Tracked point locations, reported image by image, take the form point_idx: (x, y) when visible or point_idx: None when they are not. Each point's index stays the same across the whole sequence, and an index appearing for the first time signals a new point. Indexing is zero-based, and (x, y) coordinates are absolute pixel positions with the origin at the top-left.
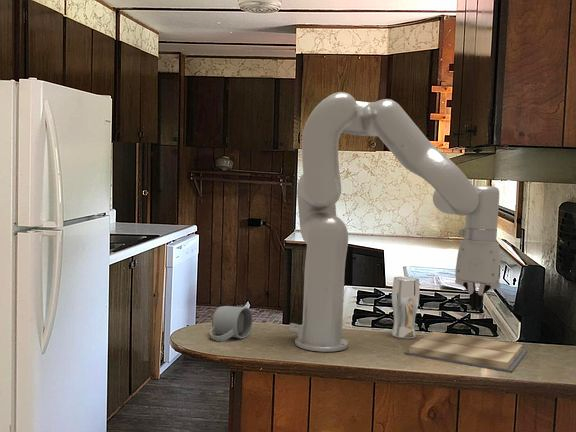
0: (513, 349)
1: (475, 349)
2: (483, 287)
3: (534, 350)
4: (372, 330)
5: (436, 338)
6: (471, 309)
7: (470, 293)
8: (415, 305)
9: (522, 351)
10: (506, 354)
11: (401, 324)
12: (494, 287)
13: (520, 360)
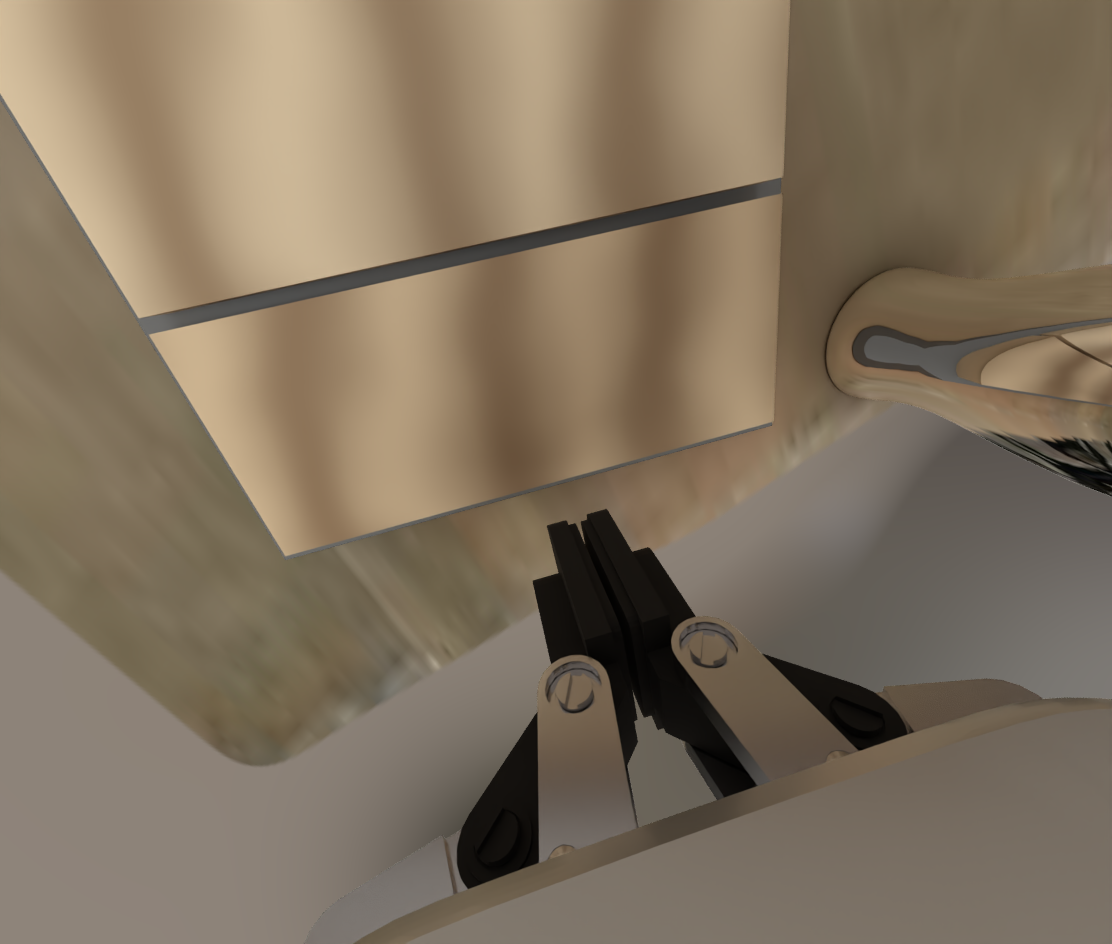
0: (230, 414)
1: (382, 180)
2: (553, 793)
3: (293, 613)
4: None
5: (706, 268)
6: (602, 511)
7: (698, 628)
8: (1043, 360)
9: None
10: (145, 228)
11: (964, 281)
12: (391, 900)
13: None
